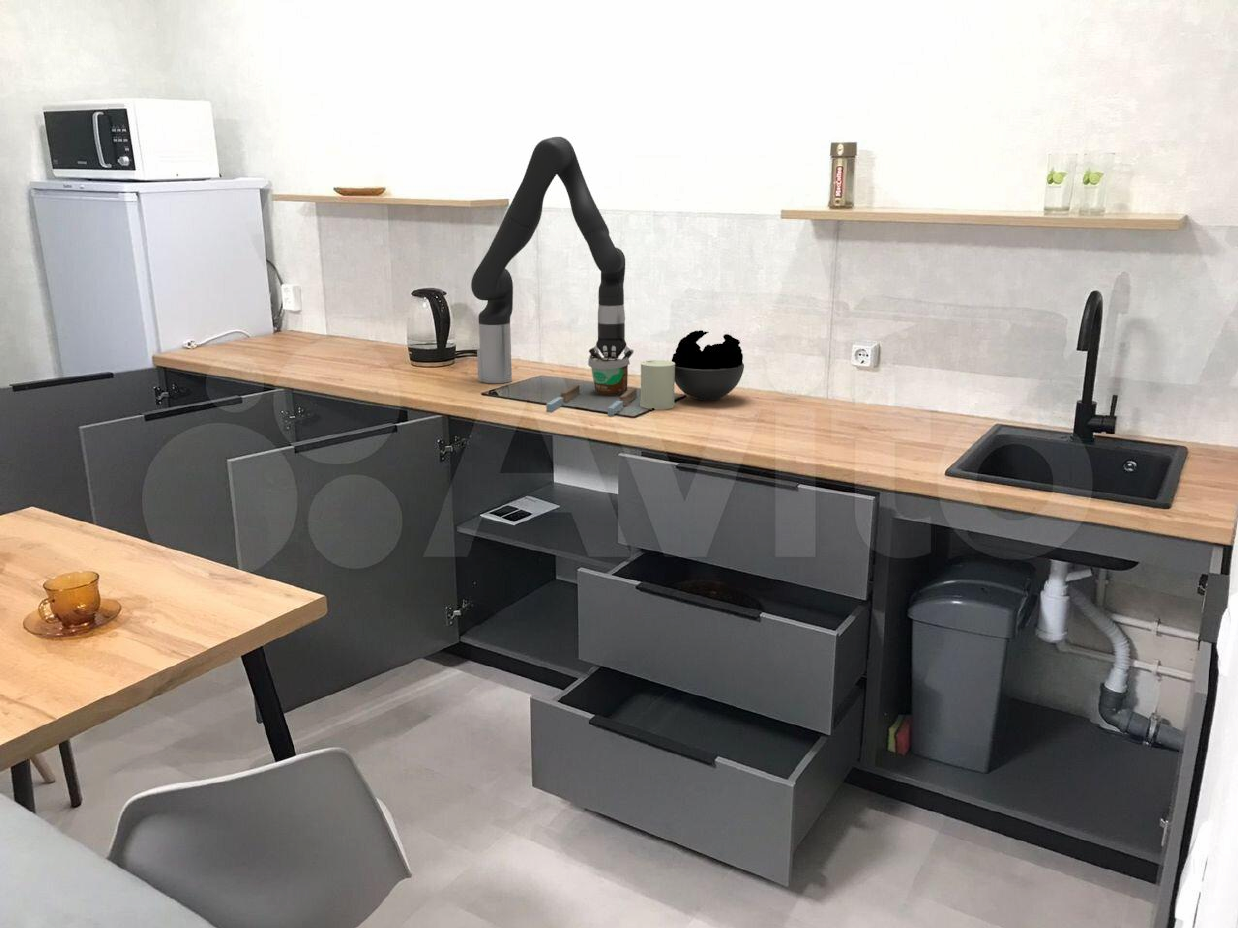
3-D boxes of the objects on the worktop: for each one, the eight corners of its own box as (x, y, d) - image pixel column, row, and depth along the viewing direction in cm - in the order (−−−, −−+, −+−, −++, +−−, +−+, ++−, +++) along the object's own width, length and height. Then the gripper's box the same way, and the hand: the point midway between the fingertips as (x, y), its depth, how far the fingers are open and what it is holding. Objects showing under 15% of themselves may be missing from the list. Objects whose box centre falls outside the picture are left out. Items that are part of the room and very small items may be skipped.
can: (656, 400, 268) (657, 357, 265) (681, 406, 262) (682, 361, 259) (632, 405, 262) (633, 361, 259) (658, 411, 256) (658, 365, 253)
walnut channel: (560, 402, 266) (560, 393, 265) (574, 393, 277) (574, 384, 276) (625, 406, 261) (625, 397, 261) (636, 397, 273) (636, 388, 272)
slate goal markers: (546, 411, 255) (546, 404, 255) (557, 404, 264) (557, 397, 263) (613, 416, 251) (613, 408, 250) (622, 408, 259) (622, 401, 259)
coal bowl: (658, 395, 275) (658, 327, 270) (723, 390, 282) (725, 324, 277) (687, 410, 257) (688, 338, 252) (755, 404, 264) (758, 334, 259)
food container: (583, 394, 277) (579, 360, 273) (593, 387, 282) (589, 353, 278) (622, 398, 272) (619, 363, 267) (632, 390, 277) (629, 356, 272)
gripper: (584, 322, 273) (585, 383, 278) (630, 323, 270) (630, 386, 275) (592, 318, 280) (592, 378, 285) (637, 319, 277) (637, 380, 282)
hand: (611, 382), depth 280 cm, fingers closed
